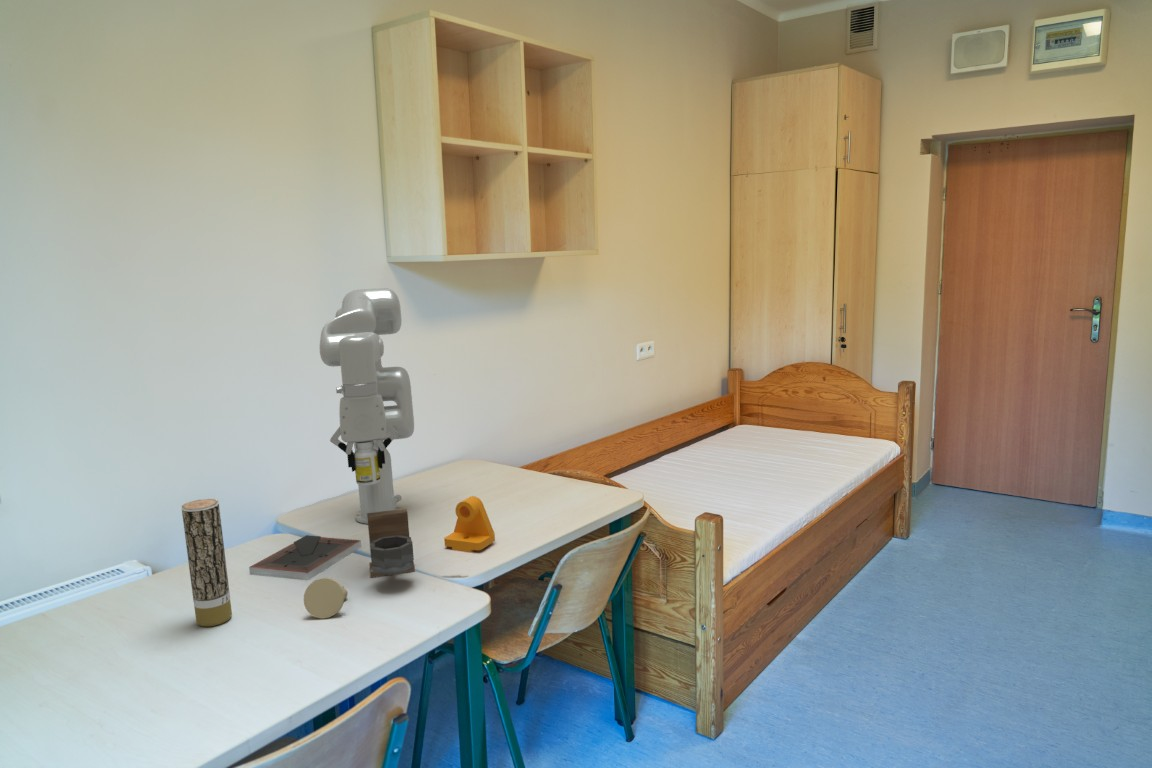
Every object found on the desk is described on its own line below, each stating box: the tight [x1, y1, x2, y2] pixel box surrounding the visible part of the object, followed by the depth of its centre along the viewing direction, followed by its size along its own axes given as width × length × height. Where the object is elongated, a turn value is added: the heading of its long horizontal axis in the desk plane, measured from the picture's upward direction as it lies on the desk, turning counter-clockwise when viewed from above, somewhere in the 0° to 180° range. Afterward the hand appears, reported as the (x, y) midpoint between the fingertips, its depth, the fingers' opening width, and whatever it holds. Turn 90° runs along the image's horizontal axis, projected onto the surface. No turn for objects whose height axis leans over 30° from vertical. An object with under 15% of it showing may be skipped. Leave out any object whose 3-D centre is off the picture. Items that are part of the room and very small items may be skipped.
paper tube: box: [181, 498, 233, 627], centre depth 163 cm, size 7×7×25 cm
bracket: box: [443, 495, 496, 553], centre depth 201 cm, size 11×7×12 cm, turn 66°
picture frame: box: [248, 534, 362, 581], centre depth 197 cm, size 16×2×22 cm
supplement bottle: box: [354, 441, 380, 486], centre depth 183 cm, size 5×5×10 cm
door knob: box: [303, 577, 349, 619], centre depth 169 cm, size 10×8×8 cm
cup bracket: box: [367, 508, 416, 578], centre depth 182 cm, size 17×10×14 cm, turn 16°
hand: (367, 467), depth 184 cm, fingers closed on supplement bottle, 5 cm apart
